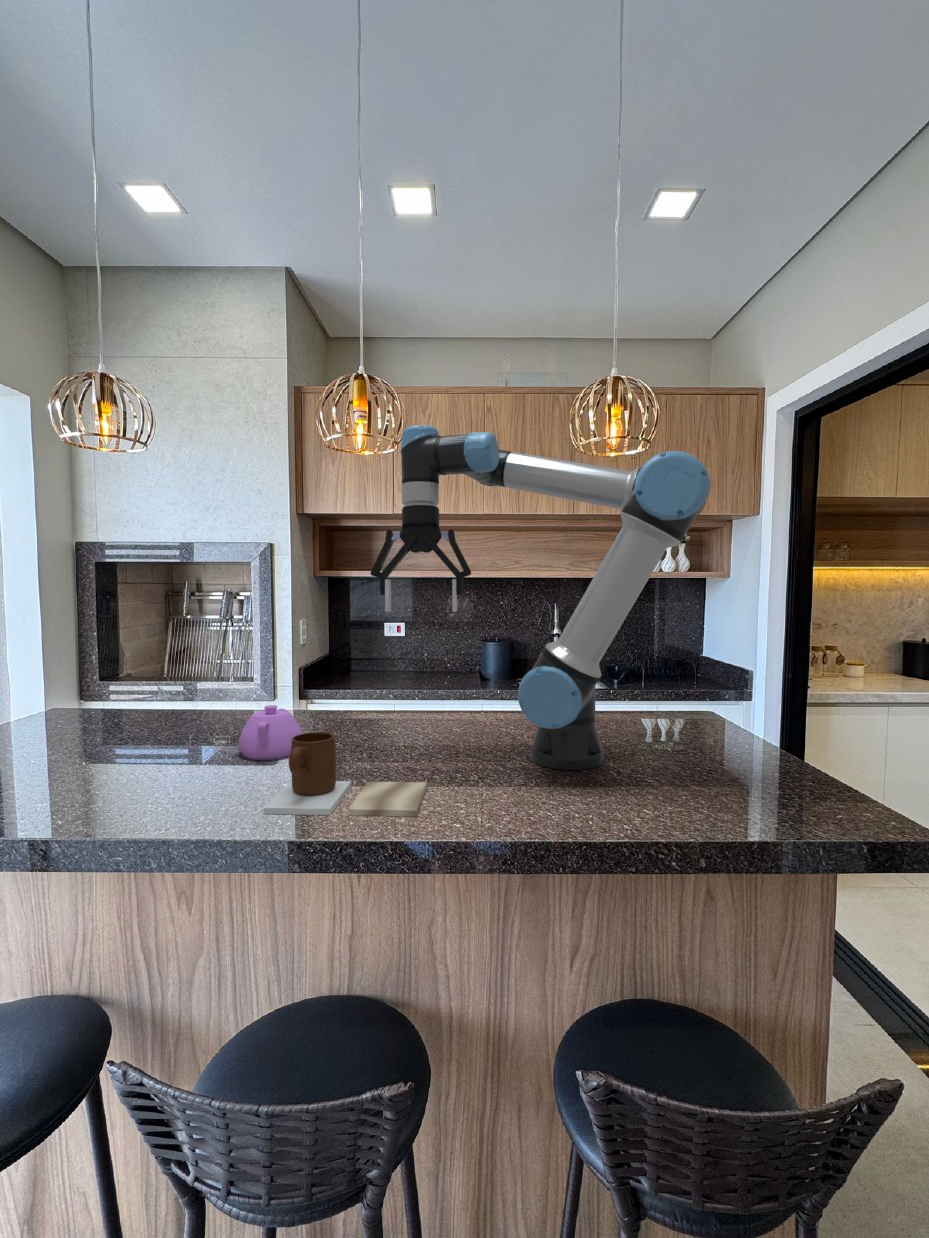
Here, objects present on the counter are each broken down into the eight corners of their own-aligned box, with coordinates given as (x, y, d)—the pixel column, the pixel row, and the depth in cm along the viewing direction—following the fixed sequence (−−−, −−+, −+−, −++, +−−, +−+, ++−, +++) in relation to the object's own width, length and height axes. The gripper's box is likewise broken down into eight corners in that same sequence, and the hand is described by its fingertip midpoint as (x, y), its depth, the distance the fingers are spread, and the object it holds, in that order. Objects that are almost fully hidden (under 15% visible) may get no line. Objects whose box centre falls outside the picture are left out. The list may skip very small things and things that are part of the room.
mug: (314, 807, 99) (312, 750, 98) (271, 804, 100) (269, 747, 100) (342, 783, 111) (341, 732, 110) (303, 781, 112) (302, 730, 112)
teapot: (312, 740, 147) (311, 696, 146) (294, 764, 127) (293, 713, 126) (253, 741, 146) (252, 697, 145) (227, 765, 126) (225, 715, 126)
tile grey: (351, 786, 112) (351, 781, 112) (330, 815, 98) (329, 808, 98) (292, 785, 113) (292, 780, 113) (263, 813, 99) (263, 807, 99)
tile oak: (426, 787, 111) (426, 782, 111) (416, 816, 97) (416, 810, 97) (367, 786, 112) (367, 781, 112) (348, 815, 98) (348, 809, 98)
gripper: (482, 507, 126) (483, 610, 127) (363, 509, 127) (364, 610, 128) (481, 502, 118) (482, 611, 119) (355, 504, 120) (356, 612, 121)
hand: (421, 611), depth 124 cm, fingers open, 13 cm apart
